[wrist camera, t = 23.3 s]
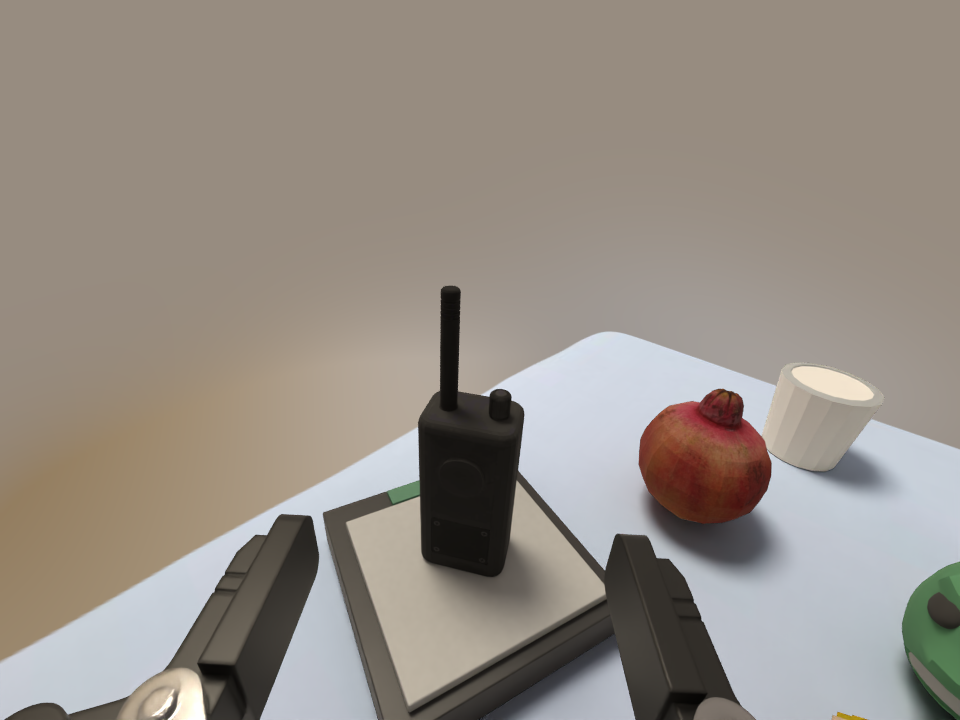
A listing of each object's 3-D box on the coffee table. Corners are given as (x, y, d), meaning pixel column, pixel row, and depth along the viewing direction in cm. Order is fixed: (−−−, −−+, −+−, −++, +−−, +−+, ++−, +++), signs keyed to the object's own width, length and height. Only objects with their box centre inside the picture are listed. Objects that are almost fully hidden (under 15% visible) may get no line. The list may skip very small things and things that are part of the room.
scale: (500, 476, 34) (503, 446, 32) (623, 628, 24) (635, 594, 22) (326, 539, 28) (321, 505, 27) (393, 773, 18) (390, 740, 17)
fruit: (670, 456, 37) (704, 351, 32) (768, 522, 31) (827, 405, 26) (603, 492, 33) (631, 377, 28) (701, 575, 27) (757, 448, 22)
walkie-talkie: (511, 533, 25) (540, 286, 18) (500, 586, 22) (530, 315, 15) (432, 515, 26) (431, 272, 19) (411, 563, 23) (401, 298, 16)
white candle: (738, 440, 39) (766, 373, 36) (775, 417, 43) (804, 354, 39) (824, 488, 34) (866, 415, 31) (858, 458, 38) (898, 390, 35)
